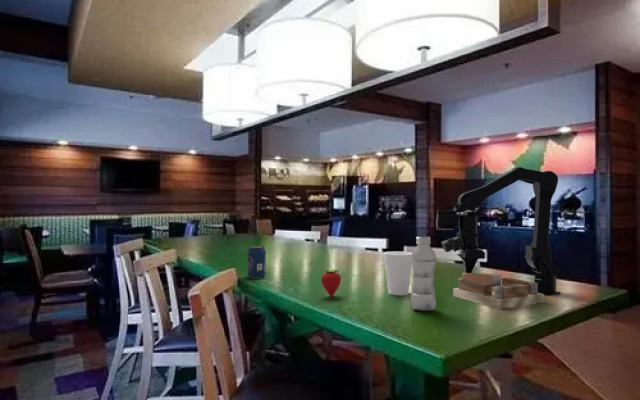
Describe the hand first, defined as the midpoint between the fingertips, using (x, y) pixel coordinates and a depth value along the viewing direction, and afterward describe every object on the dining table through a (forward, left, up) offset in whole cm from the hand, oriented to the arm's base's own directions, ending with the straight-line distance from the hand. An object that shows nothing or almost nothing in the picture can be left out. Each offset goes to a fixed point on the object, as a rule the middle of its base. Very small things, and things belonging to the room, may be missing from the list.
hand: (467, 276), depth 142 cm
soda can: (+57, -54, -5) cm, 79 cm away
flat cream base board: (+2, +14, -5) cm, 15 cm away
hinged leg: (-2, +4, -2) cm, 5 cm away
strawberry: (+46, -11, -5) cm, 48 cm away
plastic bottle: (+31, +15, -5) cm, 35 cm away
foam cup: (+24, -6, -5) cm, 25 cm away
